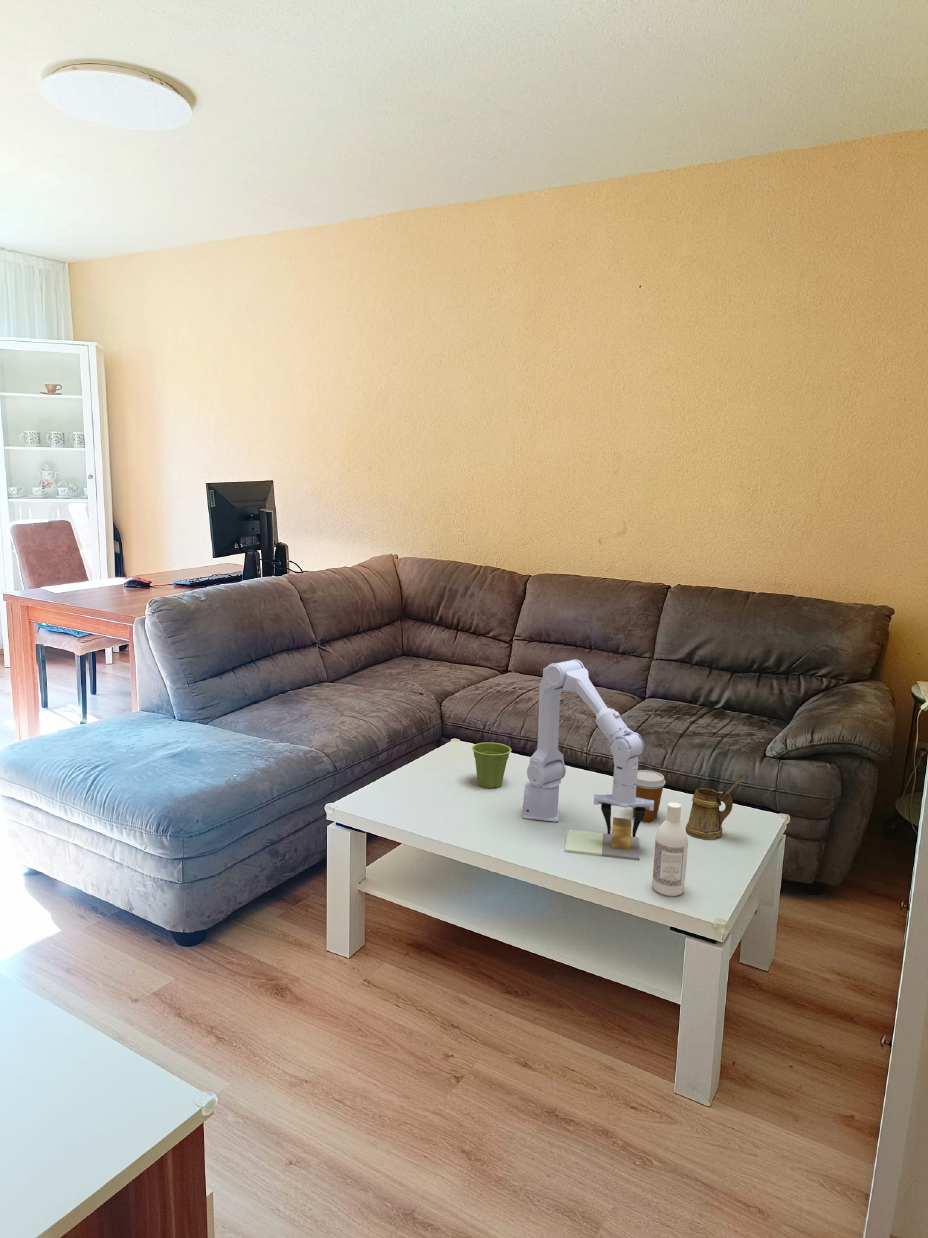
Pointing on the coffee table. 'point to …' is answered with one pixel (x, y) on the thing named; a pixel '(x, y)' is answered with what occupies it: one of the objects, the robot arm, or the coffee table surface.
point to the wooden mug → (709, 812)
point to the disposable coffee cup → (649, 791)
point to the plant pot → (490, 763)
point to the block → (621, 833)
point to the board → (599, 845)
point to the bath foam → (670, 854)
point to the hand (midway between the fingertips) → (621, 834)
